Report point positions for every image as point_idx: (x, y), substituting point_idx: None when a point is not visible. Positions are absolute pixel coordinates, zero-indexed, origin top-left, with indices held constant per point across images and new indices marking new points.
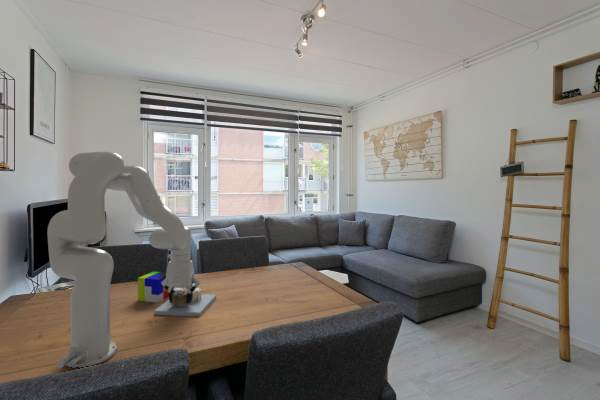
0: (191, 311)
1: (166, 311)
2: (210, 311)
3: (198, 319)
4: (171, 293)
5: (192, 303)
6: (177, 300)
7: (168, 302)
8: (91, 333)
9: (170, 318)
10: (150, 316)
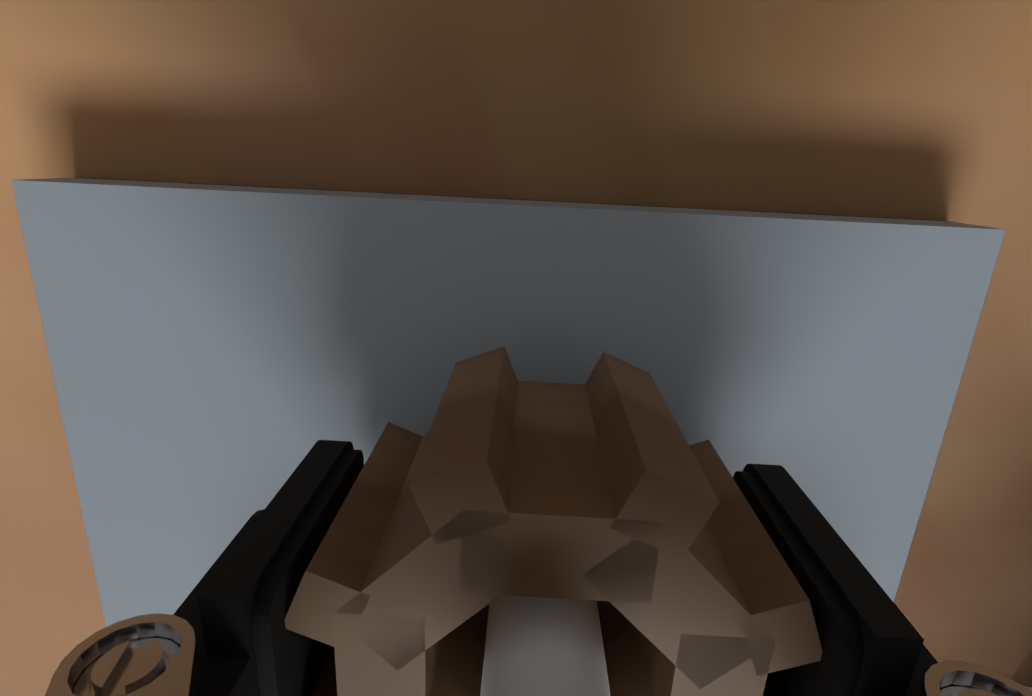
0: (209, 231)
1: (730, 213)
2: (10, 390)
3: (24, 42)
4: (839, 637)
5: None
6: (562, 430)
7: None
8: None
9: (576, 62)
10: (1000, 138)
